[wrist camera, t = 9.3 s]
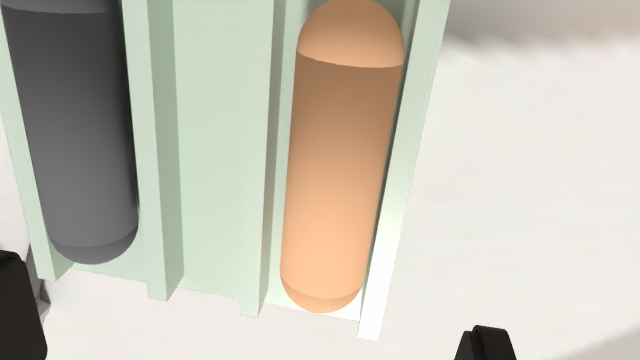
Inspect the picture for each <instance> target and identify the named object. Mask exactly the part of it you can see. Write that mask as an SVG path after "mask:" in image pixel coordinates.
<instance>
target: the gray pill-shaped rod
mask: <svg viewBox="0 0 640 360" xmlns="http://www.w3.org/2000/svg"><path fill="white" fill-rule="evenodd" d="M1 4H2V9H3V14H4V19H5V24H6V29H7V34H8V39H9V44H10V49H11V54H12V59H13V64H14V69H15V74H16V79H17V84H18V89H19V94H20V99H21V104H22V108H23V113H24V118H25V123H26V128H27V133H28V138H29V143H30V148H31V153H32V158H33V163H34V168H35V173H36V178H37V183H38V188H39V193H40V198H41V203H42V208H43V213H44V218H45V223H46V228H47V232H48V236H49V239H50V241H51V243H52V244H53V246H54V247H55V249H56V250H57V251H58V252H59V253H60V254H61V255H63V256H64V257H65V258H67V259H69V260H71V261H73V262H76V263H80V264H87V265H96V264H102V263H106V262H109V261H111V260H113V259H115V258H117V257H119V256H120V255H122V254H123V253H124V252H125V251H126V250H127V249H128V248H129V247H130V246H131V244H132V243H133V241H134V239H135V237H136V234H137V231H138V224H139V216H138V205H137V194H136V184H135V173H134V162H133V151H132V140H131V130H130V119H129V108H128V97H127V86H126V76H125V65H124V54H123V43H122V32H121V22H120V11H119V4H118V0H1Z"/></svg>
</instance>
